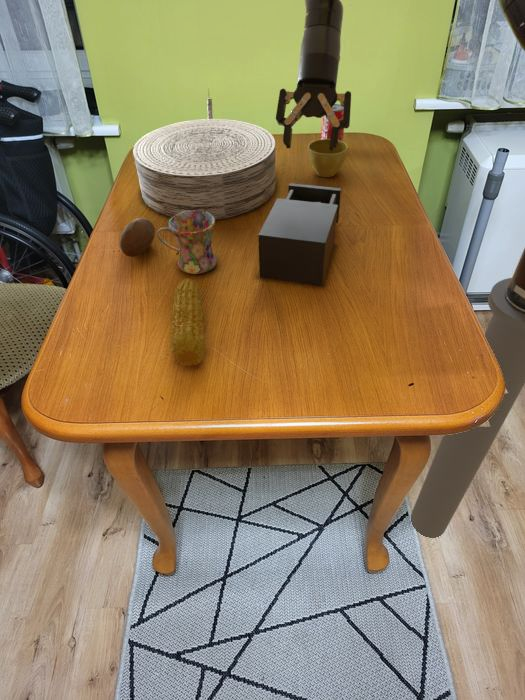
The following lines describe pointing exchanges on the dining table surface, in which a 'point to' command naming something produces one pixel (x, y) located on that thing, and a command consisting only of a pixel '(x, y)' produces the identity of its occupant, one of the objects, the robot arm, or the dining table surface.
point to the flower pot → (326, 157)
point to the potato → (137, 237)
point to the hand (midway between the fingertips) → (309, 148)
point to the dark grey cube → (297, 241)
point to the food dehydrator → (206, 166)
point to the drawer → (315, 194)
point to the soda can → (327, 126)
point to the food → (187, 324)
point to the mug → (193, 240)
